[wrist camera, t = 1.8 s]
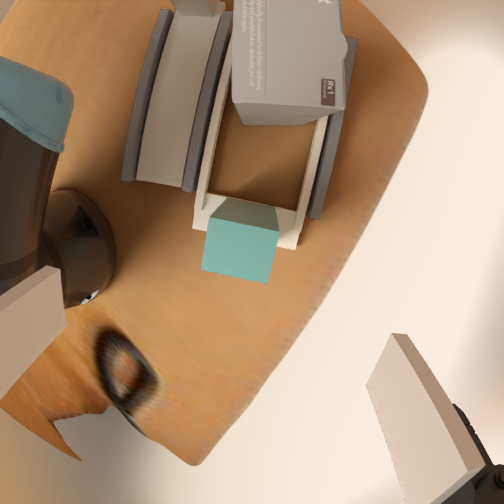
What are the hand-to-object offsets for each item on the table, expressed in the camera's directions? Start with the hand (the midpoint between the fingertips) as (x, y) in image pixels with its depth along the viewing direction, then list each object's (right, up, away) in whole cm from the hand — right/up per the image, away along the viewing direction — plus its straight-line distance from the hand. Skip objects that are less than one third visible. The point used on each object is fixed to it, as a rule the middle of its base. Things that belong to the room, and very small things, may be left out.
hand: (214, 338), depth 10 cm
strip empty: (-6, +21, +17) cm, 28 cm away
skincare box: (+4, +20, +17) cm, 27 cm away
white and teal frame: (+3, +15, +19) cm, 24 cm away
